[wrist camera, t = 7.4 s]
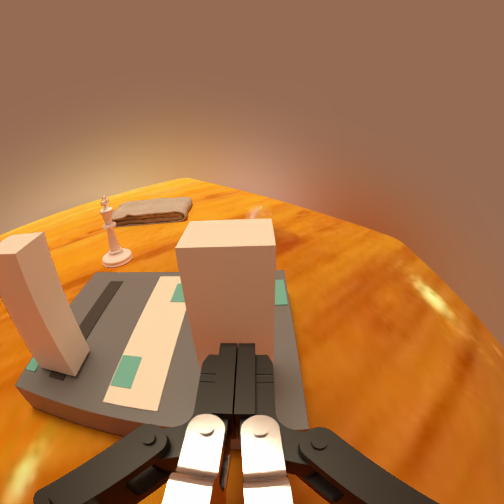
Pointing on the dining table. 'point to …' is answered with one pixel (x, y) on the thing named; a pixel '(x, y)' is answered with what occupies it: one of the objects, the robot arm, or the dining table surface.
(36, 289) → the tab
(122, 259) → the chess piece
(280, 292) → the switch bank
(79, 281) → the dining table surface
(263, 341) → the tab
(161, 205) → the washcloth
